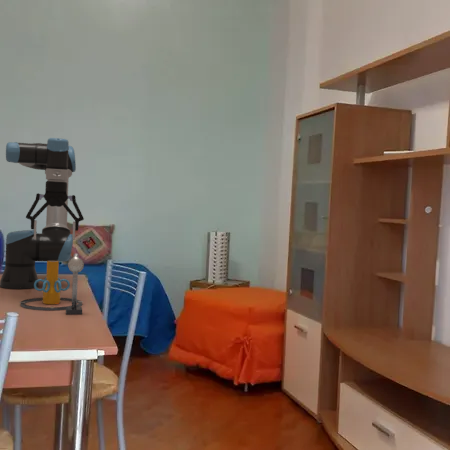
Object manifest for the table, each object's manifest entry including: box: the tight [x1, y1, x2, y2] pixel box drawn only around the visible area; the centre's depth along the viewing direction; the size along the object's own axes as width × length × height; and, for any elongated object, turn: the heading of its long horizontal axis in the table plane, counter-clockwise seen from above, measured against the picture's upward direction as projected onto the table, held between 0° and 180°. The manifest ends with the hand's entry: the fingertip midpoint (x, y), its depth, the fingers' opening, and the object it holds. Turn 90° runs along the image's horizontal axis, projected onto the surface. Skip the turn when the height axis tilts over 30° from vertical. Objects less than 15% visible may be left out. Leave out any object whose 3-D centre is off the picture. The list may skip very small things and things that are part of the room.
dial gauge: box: [65, 253, 85, 316], centre depth 188 cm, size 8×5×20 cm, turn 18°
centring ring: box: [18, 296, 84, 311], centre depth 199 cm, size 21×21×1 cm
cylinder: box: [33, 261, 71, 306], centre depth 201 cm, size 12×10×15 cm
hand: (54, 239), depth 208 cm, fingers open, 13 cm apart
